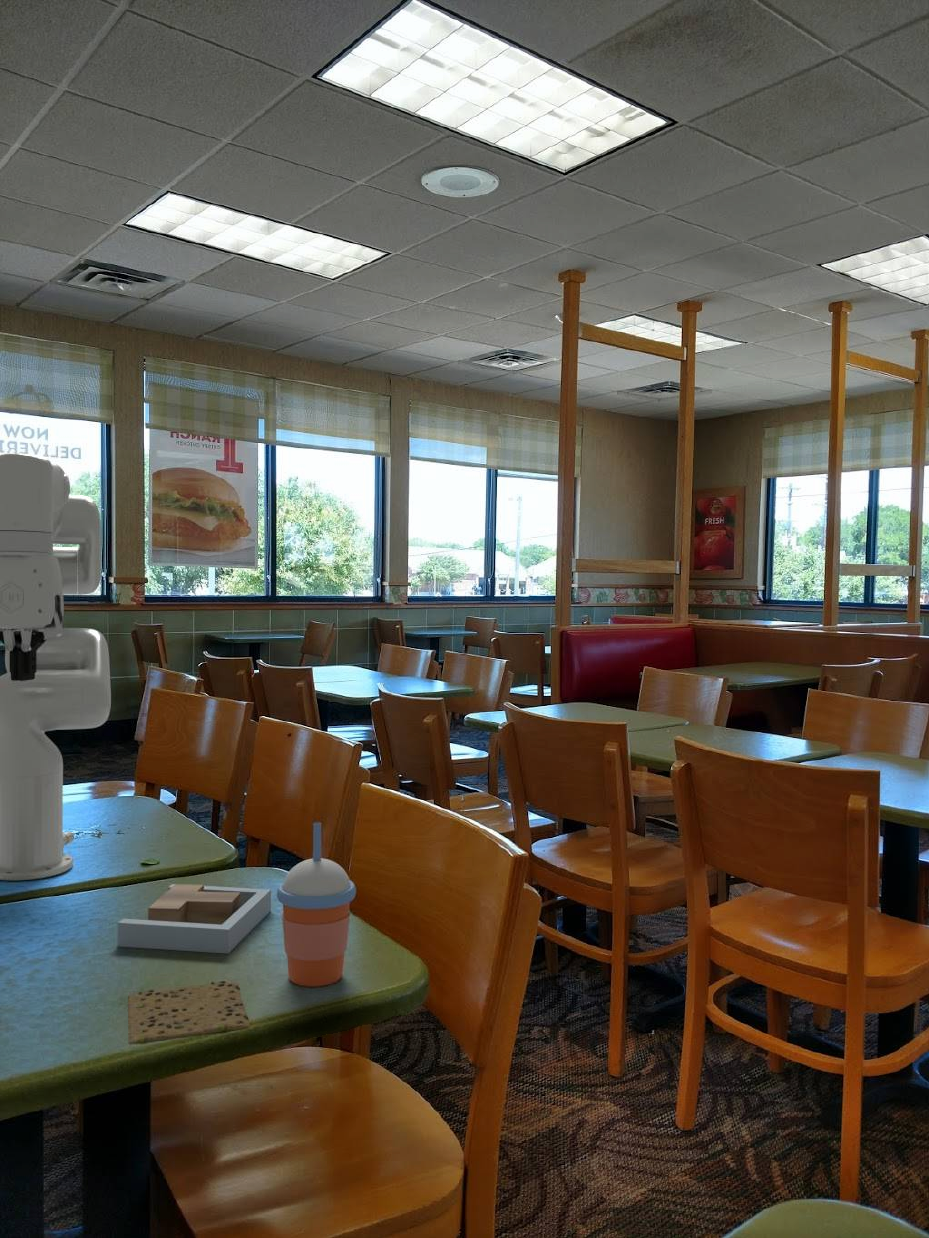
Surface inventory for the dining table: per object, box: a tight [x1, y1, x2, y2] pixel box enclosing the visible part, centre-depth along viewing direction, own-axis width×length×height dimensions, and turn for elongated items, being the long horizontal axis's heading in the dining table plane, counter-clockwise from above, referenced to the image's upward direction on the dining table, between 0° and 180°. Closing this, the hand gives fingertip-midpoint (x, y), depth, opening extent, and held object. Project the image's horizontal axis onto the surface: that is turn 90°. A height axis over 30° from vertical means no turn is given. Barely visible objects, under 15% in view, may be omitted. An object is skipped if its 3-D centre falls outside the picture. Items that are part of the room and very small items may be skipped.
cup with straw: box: [276, 822, 357, 988], centre depth 111 cm, size 9×9×18 cm
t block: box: [147, 883, 241, 925], centre depth 127 cm, size 10×10×4 cm
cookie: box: [127, 980, 250, 1045], centre depth 102 cm, size 12×12×1 cm
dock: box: [116, 883, 272, 955], centre depth 127 cm, size 16×14×3 cm
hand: (23, 679), depth 131 cm, fingers closed
